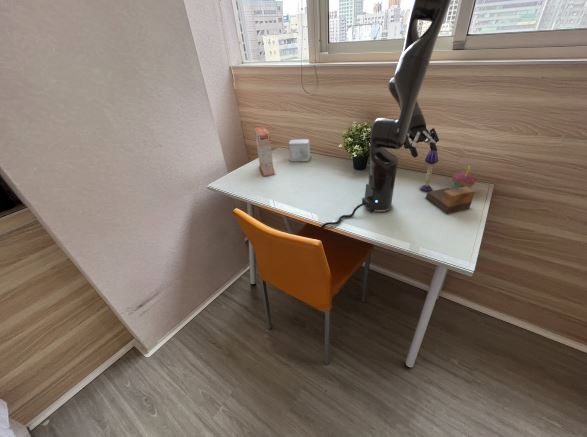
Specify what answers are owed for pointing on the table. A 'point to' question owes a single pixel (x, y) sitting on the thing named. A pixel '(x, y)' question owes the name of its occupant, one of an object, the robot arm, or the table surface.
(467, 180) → the cupcake
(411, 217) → the table surface
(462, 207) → the tiered shelf
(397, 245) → the table surface
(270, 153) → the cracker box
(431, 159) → the toy lamp
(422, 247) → the table surface
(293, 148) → the cosmetics box
